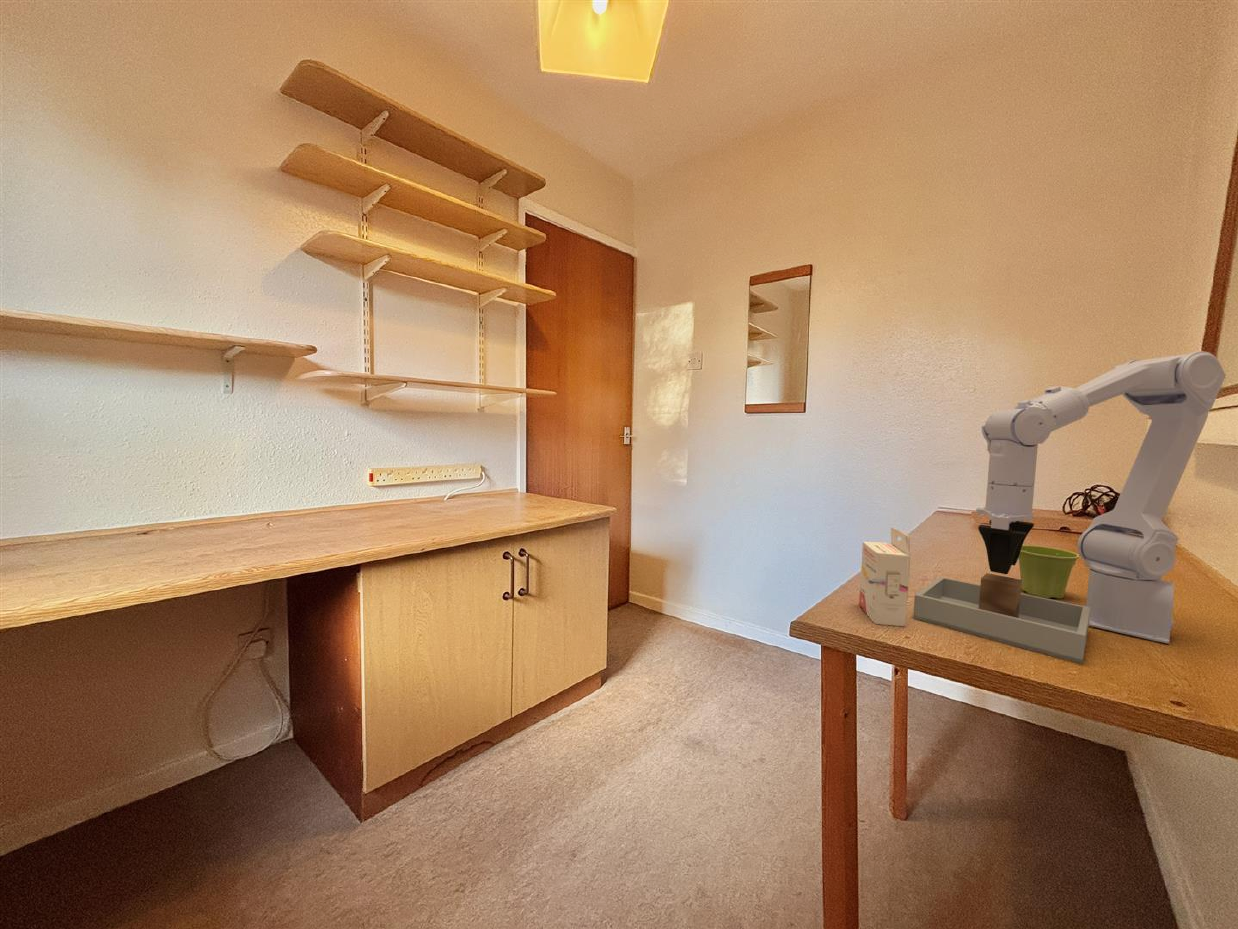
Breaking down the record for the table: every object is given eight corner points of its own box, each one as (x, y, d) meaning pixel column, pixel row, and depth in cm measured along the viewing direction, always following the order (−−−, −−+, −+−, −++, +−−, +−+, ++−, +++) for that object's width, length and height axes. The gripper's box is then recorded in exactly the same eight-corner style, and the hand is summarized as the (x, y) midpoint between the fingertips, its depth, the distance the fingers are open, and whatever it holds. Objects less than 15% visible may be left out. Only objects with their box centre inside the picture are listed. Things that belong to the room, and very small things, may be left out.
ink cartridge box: (856, 605, 83) (862, 523, 82) (887, 608, 82) (893, 525, 81) (873, 624, 74) (879, 533, 73) (907, 627, 73) (913, 536, 72)
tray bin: (1087, 632, 73) (1090, 607, 73) (1082, 664, 63) (1085, 635, 62) (938, 597, 88) (940, 576, 88) (913, 618, 77) (914, 595, 77)
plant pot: (1070, 606, 85) (1075, 560, 84) (1005, 591, 92) (1009, 549, 92) (1078, 596, 91) (1083, 552, 90) (1016, 583, 98) (1020, 542, 97)
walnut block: (1018, 622, 75) (1021, 579, 75) (1013, 629, 72) (1017, 585, 72) (983, 613, 79) (986, 573, 78) (977, 620, 75) (981, 578, 75)
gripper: (987, 479, 82) (981, 555, 83) (969, 484, 72) (962, 570, 73) (1041, 483, 77) (1034, 564, 77) (1029, 489, 67) (1021, 582, 68)
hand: (1003, 568), depth 75 cm, fingers open, 7 cm apart
